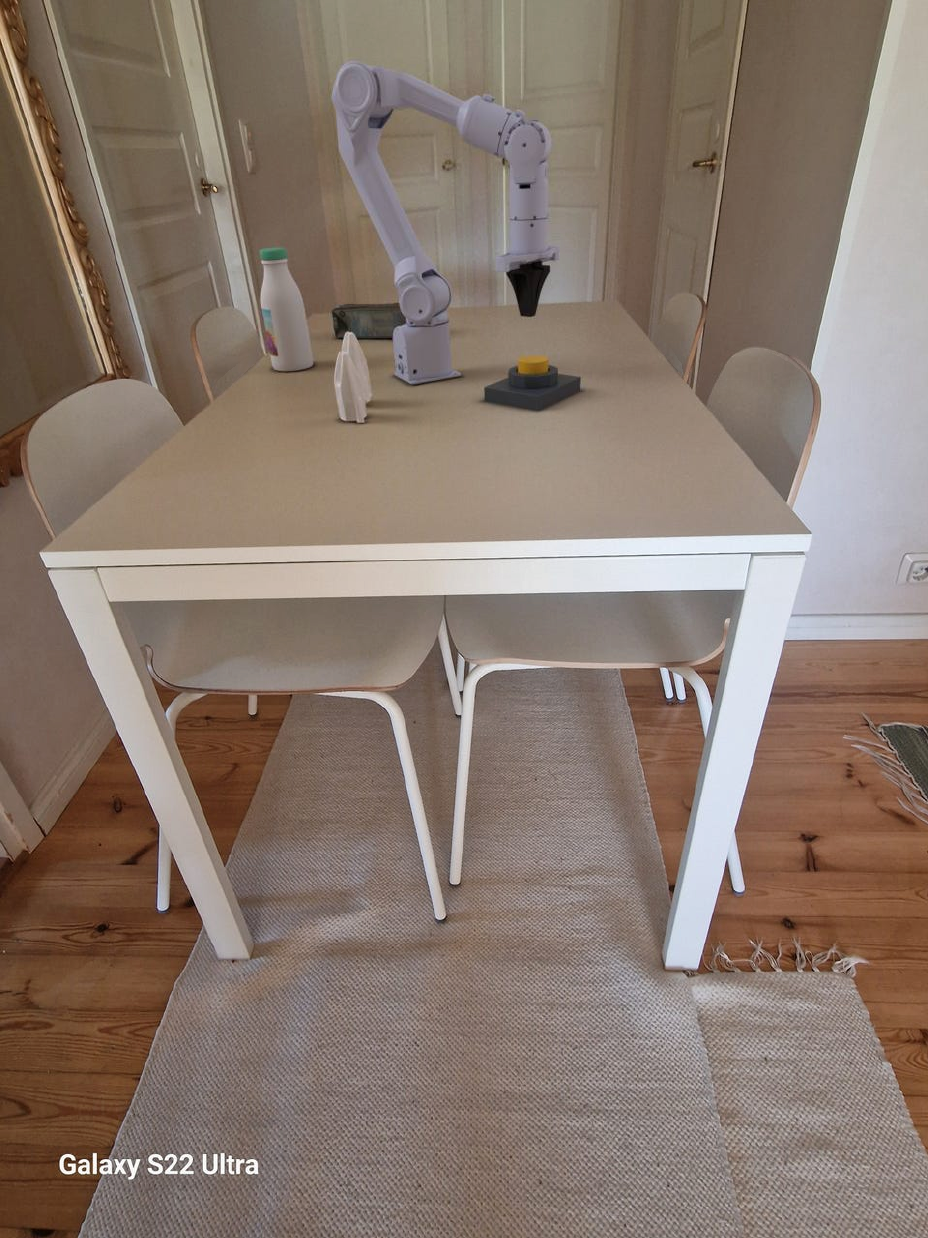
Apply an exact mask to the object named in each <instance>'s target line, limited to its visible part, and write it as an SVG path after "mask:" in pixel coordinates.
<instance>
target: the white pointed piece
mask: <svg viewBox="0 0 928 1238" xmlns="http://www.w3.org/2000/svg"><path fill="white" fill-rule="evenodd" d="M333 377H334V378H333V384H334V385H333V386H334V393H335V397H336V404H337V409H338V414H339V417H340V418H341V420H342V421H345V422H357V423H358V424H362V423H363V424H364V423H366V421H365V418H366V417H367V416H368V412H367V407H366V405H367V404H368V403H369V402H371V400H372V398H373V392H372V385H371V379H370V373H369V366H368V361H367V359H366V356H365V354H364V352H363V350H362V348H361V345H360V343H359V341H358V338H356V337H355V335H354V334H353V333H352V332H346V333H345V336H344V338H343V341H342V346H341V351H339V352H338V354H337V358H336V362H335V367H334V376H333Z"/></svg>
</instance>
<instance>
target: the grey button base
mask: <svg viewBox="0 0 928 1238" xmlns="http://www.w3.org/2000/svg"><path fill="white" fill-rule="evenodd" d="M581 379H582V377H581V376H578V375H570V374H563V373H559V368H558V367H556V366H554V365H552V364H548V372H546V373H542V374H521V373H518V365H515V366H513V367H510V368H509V369H508V372H507V377H506V378H503V379H501V380H498V381H496V382H493V383H491V384H489V385H486V386H484V388H483V389H484V393H483V394H484V395H483V396H484V402H487V403H491V404H497V405H502V406H508V407H514V408H518V409H525V410H529V411H534V412H535V411H536V412H539V411H542V410H544V409H546V408H548V407H550V406H552V405H554V404H556V403H558V402H560V401H562V400H565V399H567V398H568V397H570V396H573V395H574V394H575V395H576V394H577V393H579V392H580V391H581V381H582V380H581Z"/></svg>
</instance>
